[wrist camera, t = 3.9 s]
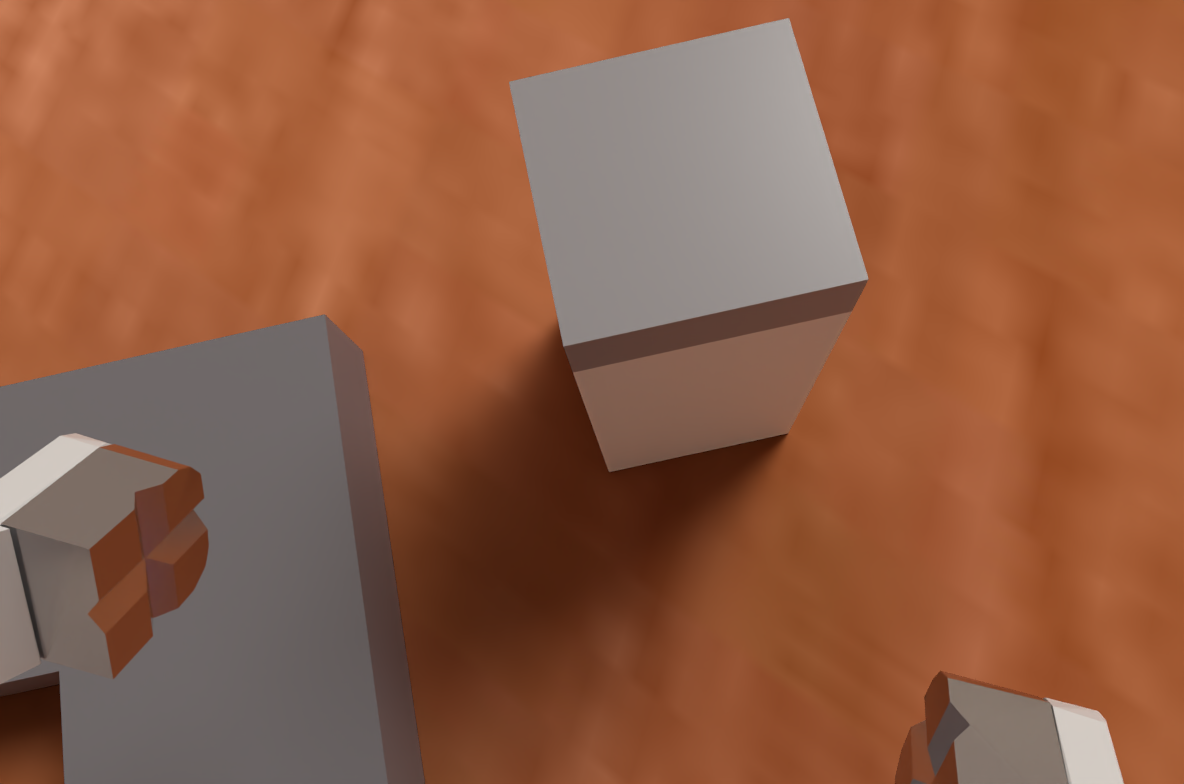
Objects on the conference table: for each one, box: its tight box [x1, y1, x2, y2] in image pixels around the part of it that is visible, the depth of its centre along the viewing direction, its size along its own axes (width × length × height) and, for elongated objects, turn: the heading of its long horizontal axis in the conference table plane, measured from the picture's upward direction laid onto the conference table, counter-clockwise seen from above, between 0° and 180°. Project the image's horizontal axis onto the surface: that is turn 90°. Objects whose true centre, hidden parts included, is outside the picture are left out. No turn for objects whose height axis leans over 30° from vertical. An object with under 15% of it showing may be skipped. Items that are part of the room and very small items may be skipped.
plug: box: [509, 18, 868, 472], centre depth 17 cm, size 4×4×9 cm
